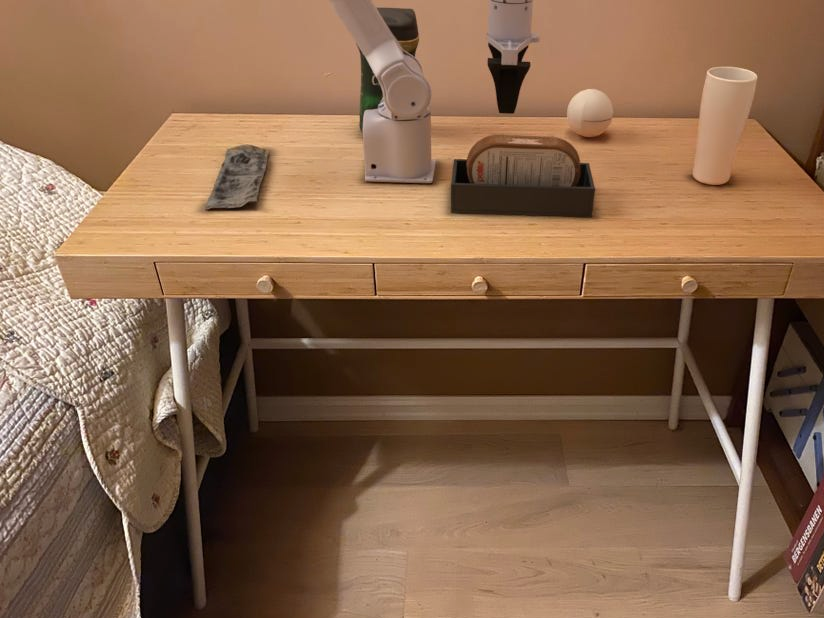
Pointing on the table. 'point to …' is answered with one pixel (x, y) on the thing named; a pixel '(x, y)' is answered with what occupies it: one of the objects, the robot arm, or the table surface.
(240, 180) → the driftwood
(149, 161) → the table surface
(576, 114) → the white ball
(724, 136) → the drinking glass
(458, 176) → the bin
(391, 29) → the coffee jar
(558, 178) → the tin
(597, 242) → the table surface
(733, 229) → the table surface
